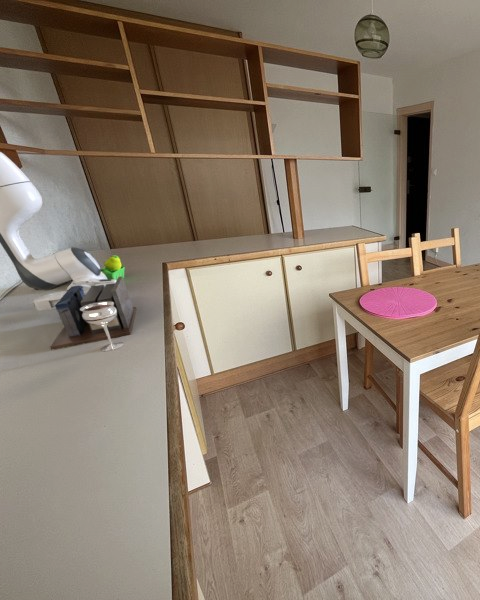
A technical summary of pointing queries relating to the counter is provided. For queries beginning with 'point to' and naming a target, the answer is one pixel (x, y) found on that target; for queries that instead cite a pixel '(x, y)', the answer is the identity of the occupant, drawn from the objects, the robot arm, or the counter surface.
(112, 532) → the counter surface
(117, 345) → the wineglass
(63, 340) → the book rack
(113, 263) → the fruit basket
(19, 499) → the counter surface
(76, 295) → the vhs cassette tape
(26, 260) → the robot arm
